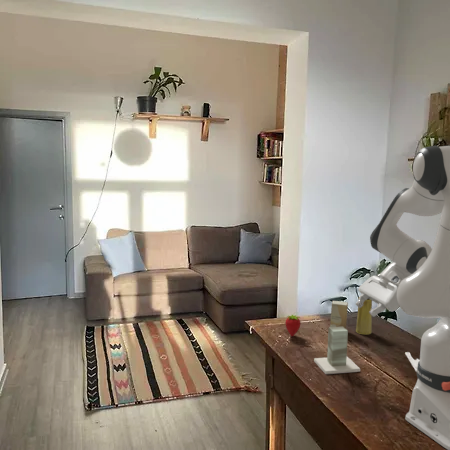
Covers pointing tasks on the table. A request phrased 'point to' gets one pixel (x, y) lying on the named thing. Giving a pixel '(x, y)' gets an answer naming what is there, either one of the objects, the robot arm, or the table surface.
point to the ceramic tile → (336, 369)
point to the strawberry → (292, 324)
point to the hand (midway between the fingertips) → (364, 310)
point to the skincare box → (339, 314)
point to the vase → (364, 318)
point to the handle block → (337, 346)
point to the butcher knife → (412, 361)
